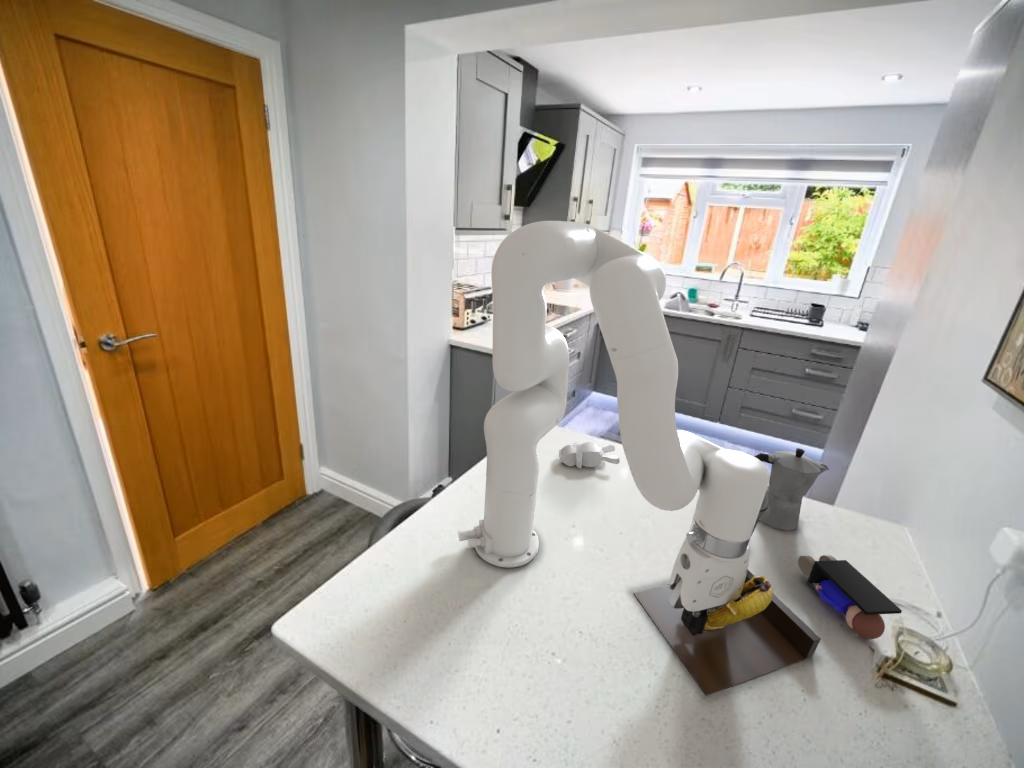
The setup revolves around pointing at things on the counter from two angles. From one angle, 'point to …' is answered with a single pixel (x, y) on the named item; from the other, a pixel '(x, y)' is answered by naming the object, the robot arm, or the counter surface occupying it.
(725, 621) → the yellow ribbed curl ornament
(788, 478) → the coffeepot
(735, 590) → the robot arm
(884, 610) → the figurine character
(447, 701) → the counter surface
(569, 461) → the bunny figurine
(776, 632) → the dark wood ledge tray
